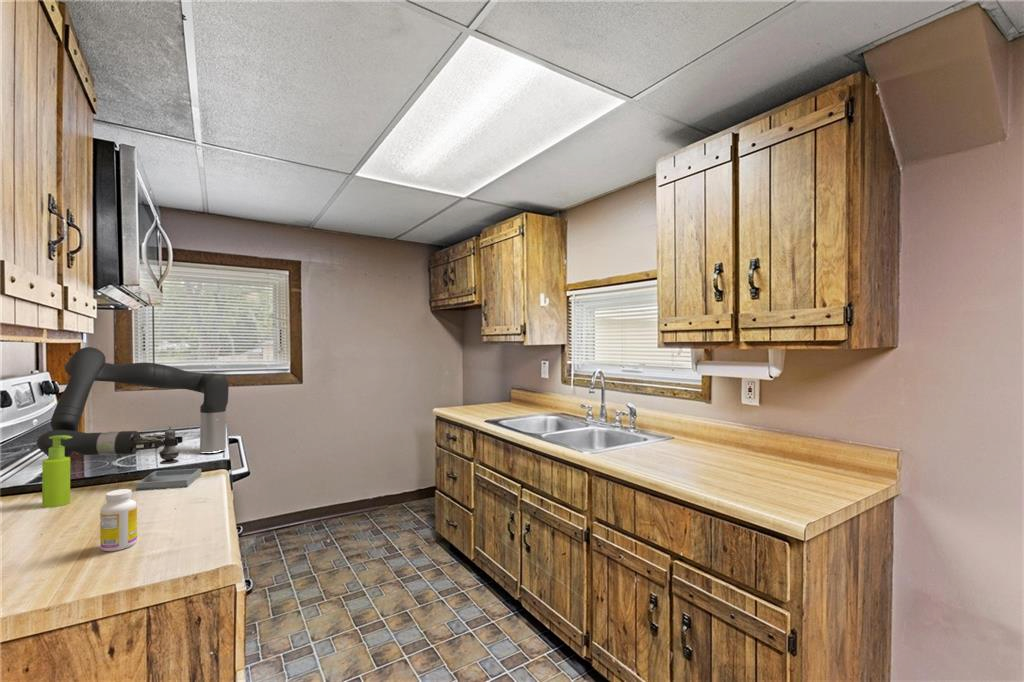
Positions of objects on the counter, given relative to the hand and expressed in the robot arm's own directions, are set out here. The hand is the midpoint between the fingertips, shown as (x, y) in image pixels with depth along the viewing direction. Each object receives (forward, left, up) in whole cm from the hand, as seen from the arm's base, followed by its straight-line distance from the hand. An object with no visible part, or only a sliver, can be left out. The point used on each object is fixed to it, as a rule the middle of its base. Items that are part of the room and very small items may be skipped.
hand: (179, 441), depth 160 cm
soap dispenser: (+15, -26, -14) cm, 33 cm away
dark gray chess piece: (0, -3, -7) cm, 8 cm away
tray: (0, -3, -14) cm, 14 cm away
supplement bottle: (+52, +4, -14) cm, 54 cm away
